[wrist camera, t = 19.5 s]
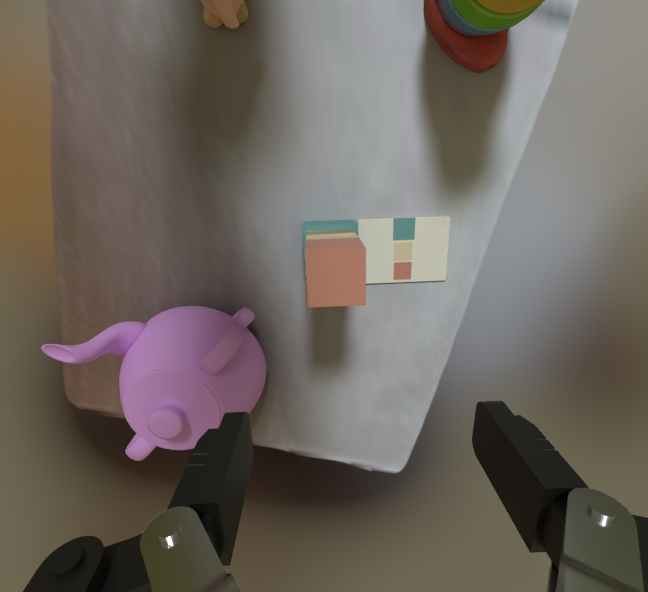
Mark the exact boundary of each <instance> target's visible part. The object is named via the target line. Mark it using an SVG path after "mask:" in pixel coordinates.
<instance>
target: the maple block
mask: <svg viewBox="0 0 648 592" xmlns="http://www.w3.org/2000/svg"><path fill="white" fill-rule="evenodd" d="M333 238H358V236H357V235H356V233H355V232H354V230H324V231H307V236H306V241H307V239H333Z"/></svg>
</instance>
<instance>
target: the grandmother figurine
mask: <svg viewBox="0 0 648 592" xmlns="http://www.w3.org/2000/svg"><path fill="white" fill-rule="evenodd" d="M200 1H201V2H202V4H203V6H204V12H203V19H204V22H205V23H206V25H207V26H209V27H211V28H218V27H220V26H221V25H222V23H224V25H225V26H226V27H228V28H231V29H234V28H237V27H239V24H241V23H244V22H245V21H246V20H247V18H248V9H247V6H246V3H245V1H244V0H200Z"/></svg>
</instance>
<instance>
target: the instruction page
mask: <svg viewBox="0 0 648 592" xmlns="http://www.w3.org/2000/svg"><path fill="white" fill-rule="evenodd" d="M450 217H451V216H434V217H410V218H386V219H362V220H358V238H360V240H361V241H362V243H363V244H364V246H365V247H366V284H371V283H395V282H418V281H441V280H445V278H446V266H447V254H448V241H449V229H450Z"/></svg>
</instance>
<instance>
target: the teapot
mask: <svg viewBox="0 0 648 592" xmlns="http://www.w3.org/2000/svg"><path fill="white" fill-rule="evenodd" d="M254 318H255V315H254V313H253V311H252V310H251V309H249V308H245V307H244V308H242V309H240V310H239V311H238V312H237V313H236V314H235V315H234V316H233V317H232V316H230V315H228V314H226V313H224V312H222V311H219V310H216V309H213V308H208V307H203V306H183V307H176V308H172V309H169V310H166V311H163V312H161V313H159V314H157V315H156V316H154V317H152V318H151V319H150V320H149V321H148V322H146V323H142V322H135V321H126V322H121V323H118V324H115V325H113V326H111V327H109V328H107V329H106V330H104V331H103V332H101V333H100V334H99V335H97V336H96V337H94V338H93V339H91V340H89V341H88V342H85V343H83V344H80V345H73V346H68V345H58V344H45V345H43V346H42V348H41V349H42V351H43V352H44V353H45V354H47V355H48V356H50V357H52V358H54V359H57V360H59V361H62V362H66V363H72V364H80V363H87V362H90V361H92V360H94V359H96V358H98V357H99V356H101V355H103V354H106V353H110V354H116V355H120V356H123V361H122V365H121V370H120V379H119V387H120V397H121V404H122V408H123V411H124V414H125V417H126V419H127V421H128V423H129V425H130V426H131V427H132V429H133V430H134V431H135V432H136V433H137V434H136V435H135V436H134V438H133V439H132V441H131V442H130V443H129V445H128V446H127V448H126V454H127V455H128V456H129V457H130V458H131V459H133V460H136V461H141V460H143V459H144V458H145V457H147V455H148V454H150V452H151V451H152V450H153V449H154V448H155V447H156V446H158V447H162V448H165V449H171V450H188V449H193V448H195V446H196V443H197V441H198V439H199V438H200V437H201V436H202V435H203V434H204V433H205V432H206V431H207V430H208V429H214V428H219V426H220V423H221V421H222V418H223V416H224V414H225V413H226V412H247V413H248V414H249V413H250V412H251V411H252V409H253V408H254V406H255V405H256V403H257V401H258V399H259V398H260V396H261V393H262V391H263V388H264V385H265V380H266V371H267V370H266V361H265V357H264V354H263V351H262V349H261V346H260V345H259V343H258V341H257V339H256V338H255V337H254V335H253V334H252V333H251V332H250V331H249V330H248V328H247V326H248V325H249V324H250V323H251V322H252V321H253V320H254Z"/></svg>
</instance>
